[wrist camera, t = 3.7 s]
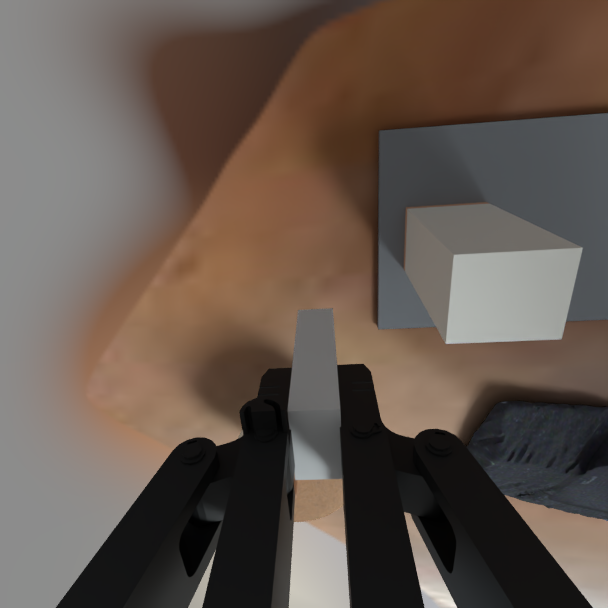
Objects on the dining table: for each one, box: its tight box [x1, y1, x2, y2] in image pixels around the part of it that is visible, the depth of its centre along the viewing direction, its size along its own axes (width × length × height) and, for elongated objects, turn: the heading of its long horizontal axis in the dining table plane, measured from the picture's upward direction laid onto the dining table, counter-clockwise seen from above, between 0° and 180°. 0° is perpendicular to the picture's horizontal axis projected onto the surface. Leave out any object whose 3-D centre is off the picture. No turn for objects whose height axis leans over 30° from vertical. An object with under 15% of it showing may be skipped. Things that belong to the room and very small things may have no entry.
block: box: [404, 202, 583, 344], centre depth 25 cm, size 5×6×12 cm
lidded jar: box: [238, 429, 343, 522], centre depth 35 cm, size 11×11×9 cm
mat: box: [378, 113, 608, 329], centre depth 31 cm, size 16×22×1 cm
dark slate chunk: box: [466, 401, 608, 521], centre depth 38 cm, size 15×22×5 cm
